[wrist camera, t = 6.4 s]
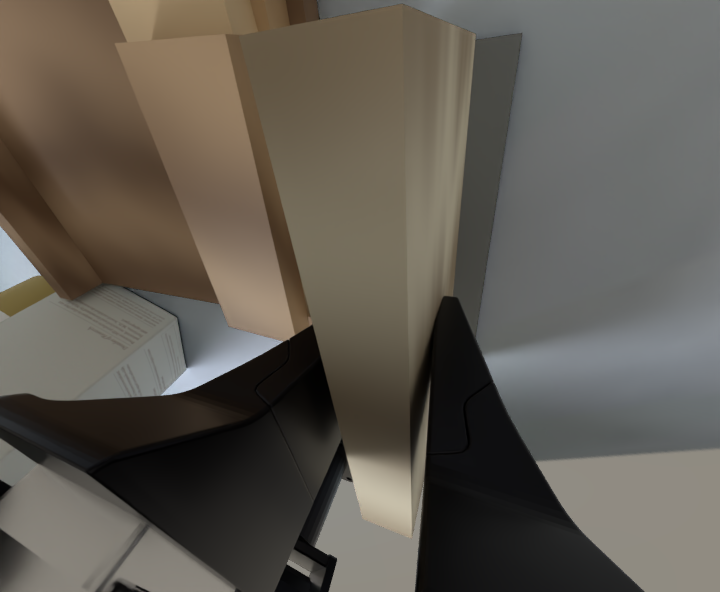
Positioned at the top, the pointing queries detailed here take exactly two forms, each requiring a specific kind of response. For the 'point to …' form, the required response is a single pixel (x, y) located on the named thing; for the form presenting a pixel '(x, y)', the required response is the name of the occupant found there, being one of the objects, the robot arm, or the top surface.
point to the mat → (483, 163)
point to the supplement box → (86, 354)
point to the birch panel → (371, 217)
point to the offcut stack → (217, 149)
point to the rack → (88, 156)
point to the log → (23, 296)
